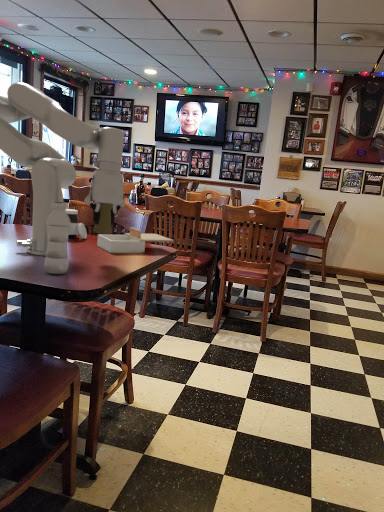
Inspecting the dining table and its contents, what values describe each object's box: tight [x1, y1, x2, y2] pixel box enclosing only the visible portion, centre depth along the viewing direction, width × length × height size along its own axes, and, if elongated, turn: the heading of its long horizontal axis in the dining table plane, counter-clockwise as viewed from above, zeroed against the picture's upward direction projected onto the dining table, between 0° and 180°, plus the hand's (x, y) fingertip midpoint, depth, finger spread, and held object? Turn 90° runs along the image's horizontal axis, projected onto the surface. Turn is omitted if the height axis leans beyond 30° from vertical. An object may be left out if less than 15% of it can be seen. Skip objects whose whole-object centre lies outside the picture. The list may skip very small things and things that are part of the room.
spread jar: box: [65, 208, 88, 240], centre depth 170 cm, size 12×11×12 cm
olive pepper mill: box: [92, 203, 113, 235], centre depth 131 cm, size 6×6×11 cm
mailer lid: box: [124, 226, 174, 242], centre depth 163 cm, size 14×14×4 cm
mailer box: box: [96, 234, 146, 254], centre depth 157 cm, size 14×14×4 cm
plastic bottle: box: [43, 201, 71, 275], centre depth 110 cm, size 6×7×20 cm
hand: (103, 223), depth 132 cm, fingers closed on olive pepper mill, 4 cm apart
